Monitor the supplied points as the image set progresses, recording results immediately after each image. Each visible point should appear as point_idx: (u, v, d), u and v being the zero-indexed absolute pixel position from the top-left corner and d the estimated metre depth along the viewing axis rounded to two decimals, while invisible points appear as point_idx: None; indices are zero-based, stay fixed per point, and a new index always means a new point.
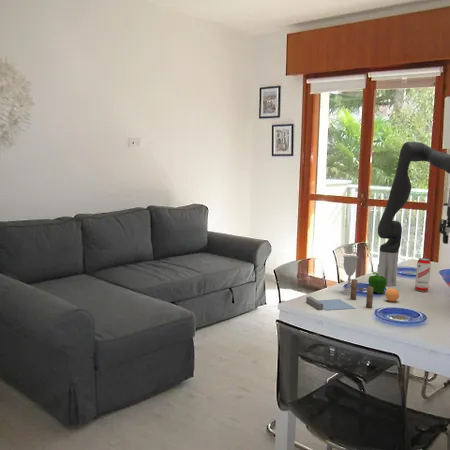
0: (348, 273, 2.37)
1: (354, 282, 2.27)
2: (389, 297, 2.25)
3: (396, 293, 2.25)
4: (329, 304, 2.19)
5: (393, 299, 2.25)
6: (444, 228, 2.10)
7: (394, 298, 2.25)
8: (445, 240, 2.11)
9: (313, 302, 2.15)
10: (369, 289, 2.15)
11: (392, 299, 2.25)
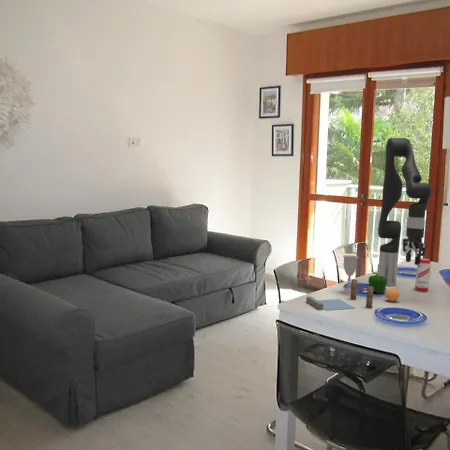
0: (348, 273, 2.37)
1: (354, 282, 2.27)
2: (389, 297, 2.25)
3: (396, 293, 2.25)
4: (329, 304, 2.19)
5: (393, 299, 2.25)
6: None
7: (394, 298, 2.25)
8: None
9: (313, 302, 2.15)
10: (369, 289, 2.15)
11: (392, 299, 2.25)
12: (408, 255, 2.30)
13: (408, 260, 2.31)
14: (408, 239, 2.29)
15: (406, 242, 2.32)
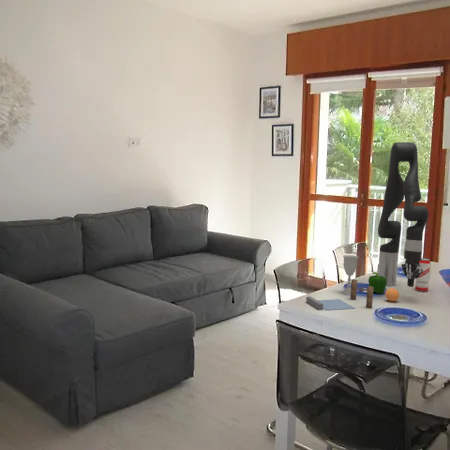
0: (348, 273, 2.37)
1: (354, 282, 2.27)
2: (389, 297, 2.25)
3: (396, 293, 2.25)
4: (329, 304, 2.19)
5: (393, 299, 2.25)
6: None
7: (394, 298, 2.25)
8: None
9: (313, 302, 2.15)
10: (369, 289, 2.15)
11: (392, 299, 2.25)
12: None
13: None
14: (406, 261, 2.30)
15: (405, 266, 2.32)
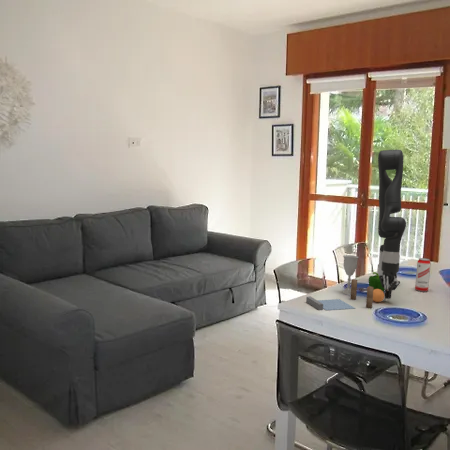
0: (348, 273, 2.37)
1: (354, 282, 2.27)
2: None
3: (378, 297, 2.23)
4: (329, 304, 2.19)
5: (383, 296, 2.24)
6: None
7: (383, 297, 2.23)
8: None
9: (313, 302, 2.15)
10: (369, 289, 2.15)
11: (383, 297, 2.24)
12: None
13: None
14: (383, 272, 2.27)
15: (383, 277, 2.29)
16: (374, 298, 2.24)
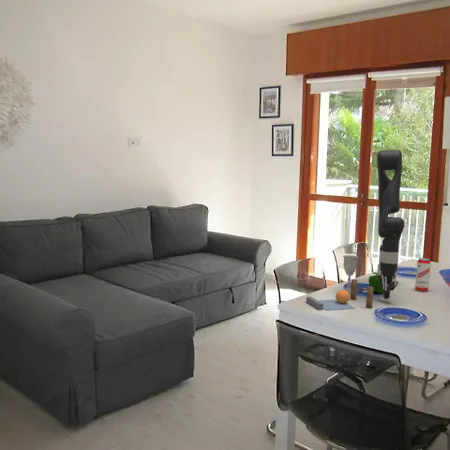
0: (348, 273, 2.37)
1: (354, 282, 2.27)
2: (344, 302, 2.21)
3: (342, 297, 2.19)
4: (329, 304, 2.19)
5: (347, 300, 2.20)
6: None
7: (347, 299, 2.19)
8: None
9: (313, 302, 2.15)
10: (369, 289, 2.15)
11: (347, 300, 2.20)
12: None
13: None
14: (382, 273, 2.28)
15: (381, 278, 2.29)
16: (339, 296, 2.20)
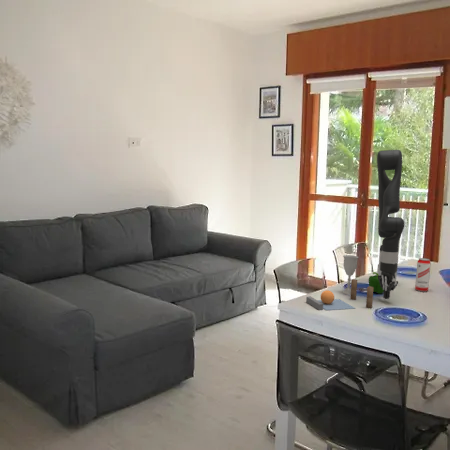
0: (348, 273, 2.37)
1: (354, 282, 2.27)
2: (331, 293, 2.19)
3: (331, 301, 2.18)
4: (329, 304, 2.19)
5: (328, 294, 2.18)
6: None
7: (329, 296, 2.17)
8: None
9: (313, 302, 2.15)
10: (369, 289, 2.15)
11: (329, 294, 2.18)
12: None
13: None
14: (382, 273, 2.28)
15: (381, 278, 2.29)
16: (331, 302, 2.19)
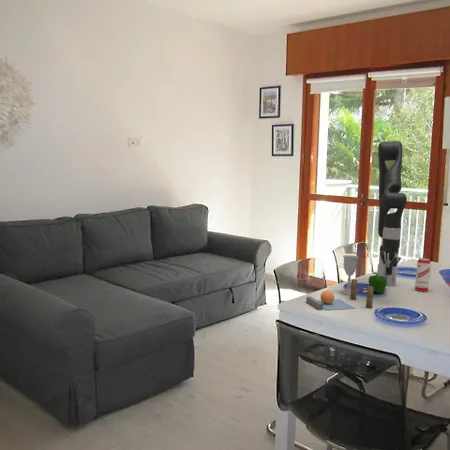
0: (348, 273, 2.37)
1: (354, 282, 2.27)
2: (331, 293, 2.19)
3: (331, 301, 2.18)
4: (329, 304, 2.19)
5: (328, 294, 2.18)
6: None
7: (329, 296, 2.17)
8: (391, 272, 2.24)
9: (313, 302, 2.15)
10: (369, 289, 2.15)
11: (329, 294, 2.18)
12: None
13: None
14: (384, 249, 2.26)
15: (383, 254, 2.28)
16: (331, 302, 2.19)
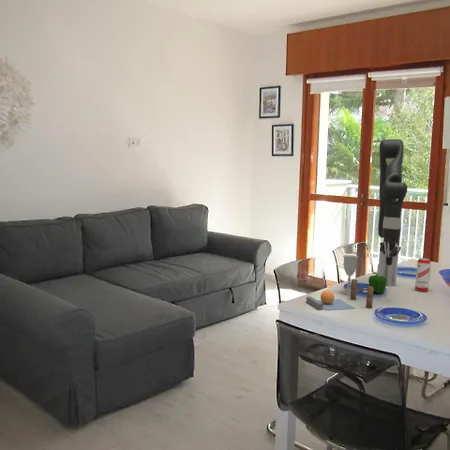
0: (348, 273, 2.37)
1: (354, 282, 2.27)
2: (331, 293, 2.19)
3: (331, 301, 2.18)
4: (329, 304, 2.19)
5: (328, 294, 2.18)
6: None
7: (329, 296, 2.17)
8: (391, 262, 2.24)
9: (313, 302, 2.15)
10: (369, 289, 2.15)
11: (329, 294, 2.18)
12: None
13: None
14: (384, 239, 2.26)
15: (384, 244, 2.27)
16: (331, 302, 2.19)
